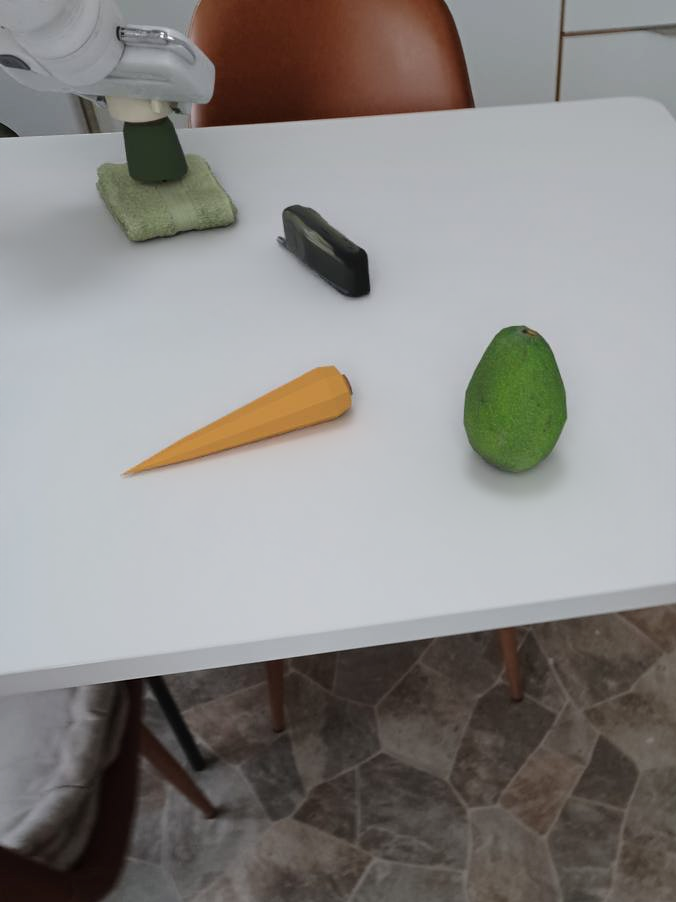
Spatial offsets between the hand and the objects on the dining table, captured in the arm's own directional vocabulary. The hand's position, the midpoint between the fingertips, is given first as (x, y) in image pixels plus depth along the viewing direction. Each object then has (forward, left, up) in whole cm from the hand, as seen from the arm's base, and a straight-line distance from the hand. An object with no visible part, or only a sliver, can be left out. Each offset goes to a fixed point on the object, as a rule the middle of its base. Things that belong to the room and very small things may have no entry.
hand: (145, 104), depth 101 cm
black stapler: (+17, -18, -11) cm, 26 cm away
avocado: (+31, -52, -11) cm, 61 cm away
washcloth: (0, -1, -11) cm, 11 cm away
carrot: (+9, -46, -11) cm, 48 cm away
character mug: (0, -1, -7) cm, 7 cm away
